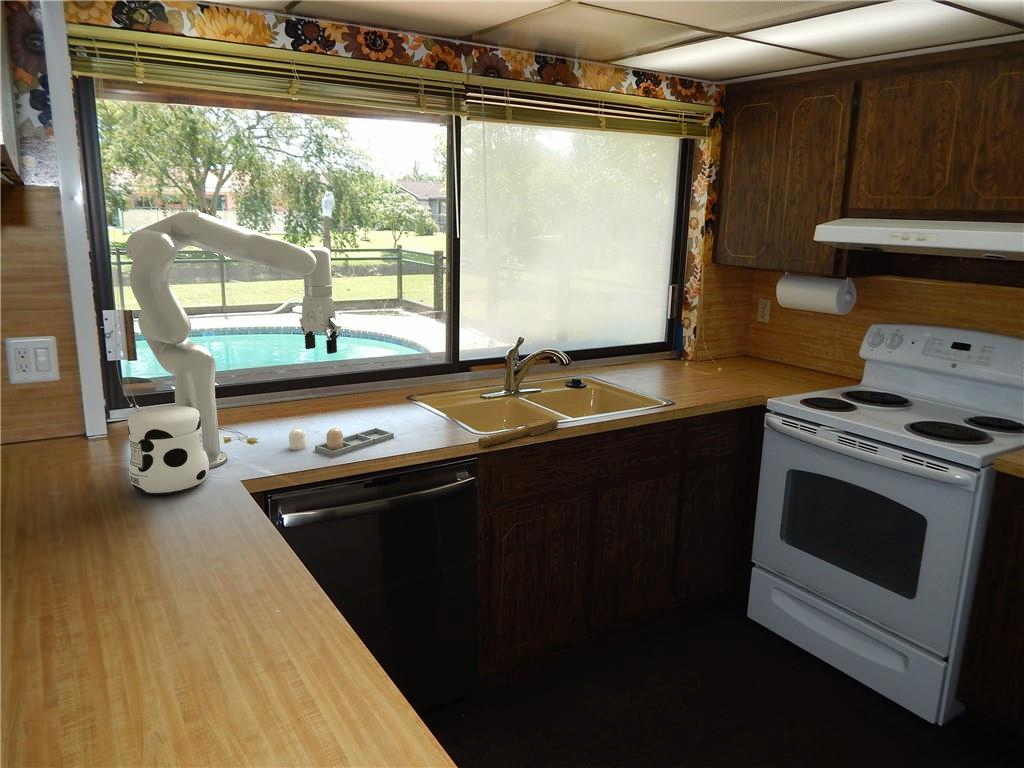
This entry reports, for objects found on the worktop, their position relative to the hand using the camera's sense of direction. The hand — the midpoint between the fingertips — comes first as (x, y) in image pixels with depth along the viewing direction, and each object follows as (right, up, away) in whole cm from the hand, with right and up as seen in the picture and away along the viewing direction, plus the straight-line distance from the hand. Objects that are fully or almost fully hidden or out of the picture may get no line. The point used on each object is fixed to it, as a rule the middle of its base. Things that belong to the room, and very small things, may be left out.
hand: (321, 350), depth 208 cm
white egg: (-4, -28, -9) cm, 30 cm away
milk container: (-27, -34, -35) cm, 56 cm away
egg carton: (+11, -27, -6) cm, 30 cm away
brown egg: (+7, -28, -11) cm, 31 cm away
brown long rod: (+58, -26, +6) cm, 63 cm away
